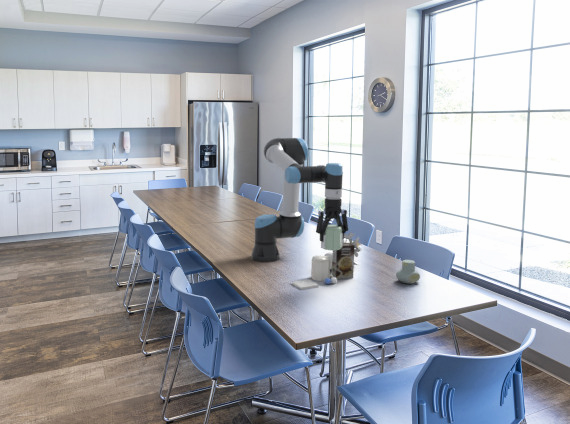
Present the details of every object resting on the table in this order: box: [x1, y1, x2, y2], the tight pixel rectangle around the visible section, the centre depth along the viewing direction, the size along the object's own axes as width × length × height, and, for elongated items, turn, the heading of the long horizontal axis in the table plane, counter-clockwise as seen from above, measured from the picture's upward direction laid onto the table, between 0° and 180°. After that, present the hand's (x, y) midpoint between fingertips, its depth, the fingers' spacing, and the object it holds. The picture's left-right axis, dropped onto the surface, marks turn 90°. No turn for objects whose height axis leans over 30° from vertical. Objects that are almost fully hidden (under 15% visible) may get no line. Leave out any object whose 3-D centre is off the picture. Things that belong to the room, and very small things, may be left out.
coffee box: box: [331, 242, 356, 280], centre depth 250 cm, size 9×6×16 cm
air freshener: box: [395, 259, 421, 285], centre depth 243 cm, size 11×8×10 cm
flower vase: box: [323, 232, 363, 271], centre depth 267 cm, size 13×18×25 cm
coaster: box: [291, 279, 319, 291], centre depth 237 cm, size 9×9×1 cm
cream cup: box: [310, 255, 331, 282], centre depth 247 cm, size 8×8×10 cm
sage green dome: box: [324, 224, 342, 251], centre depth 236 cm, size 8×8×10 cm
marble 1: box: [323, 278, 332, 285], centre depth 239 cm, size 3×3×3 cm
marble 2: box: [330, 276, 338, 285], centre depth 240 cm, size 3×3×3 cm
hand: (331, 247), depth 237 cm, fingers closed on sage green dome, 8 cm apart
